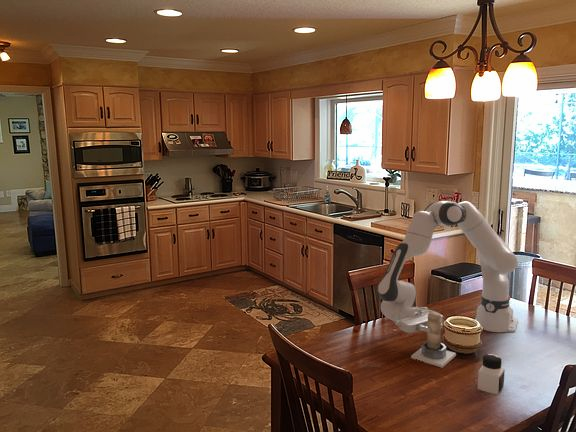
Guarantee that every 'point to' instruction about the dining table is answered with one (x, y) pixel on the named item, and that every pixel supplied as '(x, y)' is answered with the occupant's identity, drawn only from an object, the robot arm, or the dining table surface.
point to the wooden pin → (434, 331)
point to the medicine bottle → (491, 374)
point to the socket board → (434, 362)
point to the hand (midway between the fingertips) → (435, 328)
